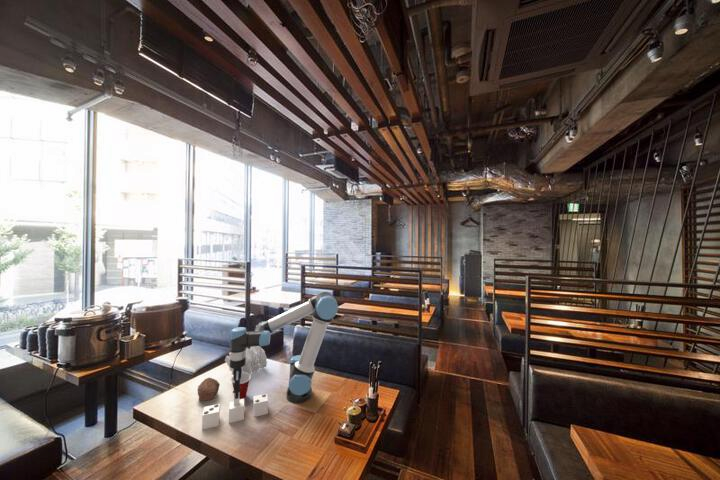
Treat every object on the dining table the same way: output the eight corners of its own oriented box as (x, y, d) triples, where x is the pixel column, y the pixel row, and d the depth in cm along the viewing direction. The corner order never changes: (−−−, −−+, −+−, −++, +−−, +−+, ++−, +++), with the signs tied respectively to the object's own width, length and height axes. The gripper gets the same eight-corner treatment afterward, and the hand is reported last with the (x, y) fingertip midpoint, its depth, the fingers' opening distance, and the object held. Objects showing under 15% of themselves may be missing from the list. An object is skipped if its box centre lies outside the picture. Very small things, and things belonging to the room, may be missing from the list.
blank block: (243, 411, 142) (244, 398, 142) (243, 419, 136) (244, 406, 136) (229, 414, 139) (229, 401, 139) (228, 423, 133) (229, 409, 133)
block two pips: (266, 406, 147) (266, 393, 147) (267, 413, 140) (268, 400, 141) (253, 409, 144) (253, 396, 144) (253, 417, 138) (253, 403, 138)
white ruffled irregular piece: (266, 374, 189) (233, 388, 167) (252, 357, 197) (220, 369, 176) (275, 353, 185) (243, 365, 164) (261, 337, 194) (229, 347, 173)
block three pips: (219, 417, 137) (219, 403, 137) (218, 425, 131) (218, 411, 131) (203, 420, 134) (204, 406, 134) (202, 429, 128) (202, 414, 128)
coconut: (200, 392, 158) (200, 375, 158) (221, 389, 162) (221, 373, 162) (194, 405, 146) (194, 387, 146) (216, 402, 149) (217, 384, 149)
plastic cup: (236, 405, 146) (237, 384, 146) (226, 398, 153) (227, 377, 153) (254, 396, 155) (255, 376, 155) (244, 390, 162) (245, 370, 162)
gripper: (230, 354, 142) (229, 397, 142) (229, 364, 130) (227, 412, 130) (245, 352, 145) (244, 394, 145) (245, 362, 133) (244, 409, 133)
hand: (236, 403), depth 137 cm, fingers closed
